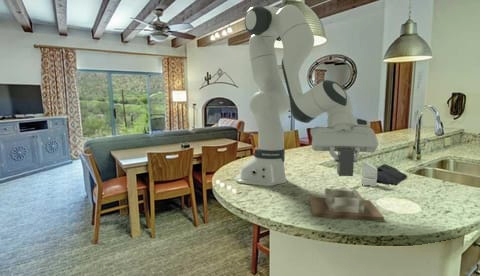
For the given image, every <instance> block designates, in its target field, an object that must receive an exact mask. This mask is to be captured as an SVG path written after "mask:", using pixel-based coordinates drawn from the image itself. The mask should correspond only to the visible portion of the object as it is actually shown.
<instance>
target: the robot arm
mask: <svg viewBox="0 0 480 276" xmlns="http://www.w3.org/2000/svg"><path fill="white" fill-rule="evenodd" d="M244 27H245V30H246V32H248V33H249V34H251V36H250V38H249V41H248V53H249V60H250V61H249V62H250V65H251V67H250V68H251V71H252V72H251V73H252V75H253V76H252V77H253V81H254V82H255V83H256V85H257V86H258V88H259V91H257V92H255V93H254V94H252V96H251V98H250V100H249V108H250V111H251V112H252V114H253V115H254V118H255V123H256V126H257V134H258V135H257V136H258V137H257V139H258V141H257V142H258V145H257V146H258V147H254V148H253V156H252V157H251V158H250V159H249V160H247V161H245V163H243V165H241V170H240V173H239V174H237V175H236V176H235V181H236V183H238V184H247V185H253V186H256V185H257V186H264V187H273V186H275V185H280V184H284V183H286V182H287V181H288V179H287V175H286V170H285V160H286V159H285V158H286V151H285V150H286V149H285V147H284V146H285V131H284V130H285V129H283V125H282V122H281V119H280V118H281V117H280V116H283V115H286V114H287V112H289V111H290V113H291V115H292V116H293V118H294V120H295V121H298V122H300V123H305V124H308V123H310V122H312V121H313V120H315V119H316V118H317V117H320V116H321V115H322V114H325V113H326V116H327V119H326V122H327V126H316V125H315V126H314V127H312V128H311V129H310V132H309V134H310V136H311V137H312V140H311V149H312V150H313V151H314V152H329V154H330V156H331V157H332V158H333V162H336V163H338V162H339V155H338V154H337V153H336V152H338V148H349V149H353V150H354V163H355V164H357V163H358V162H359V158H358V157H359V155H360V154H361V153H375V151H377V149H378V148H379V141H378V138H377V136H376V133H375V130H373V128H371V125H372V123H371V122H370V121H369V120H367V119H362V118H359V117H355V116H354V114H353V105H352V104H353V103H352V101H351V99H350V98H351V97H350V96H349V93H348V92H347V91H346V89H344V88H343V87H342V86H341V85H340V84H339V83H338V82H336V81H334V80H328V79H325V80H323V81H321V82H319V83H318V84H316V85H314V86H313V87H311V89H309V90H307V91H306V92H303V89H302V85H301V81H300V74H299V73H300V70H301V67H302V66H303V64H304V62H305V61H306V60H307V58H308V57H309V56H310V54H311V53H312V50H313V48H314V44H315V36H314V33H313V30H312V28H311V27H310V24H309V22H308V21H307V19H306V17H305V15H304V14H303V12H302V11H301V9H299V7H298V6H296V5H294V4H287V5H284V6H283V7H281V8H280V7H277V6H262V5H254V6H251V7H250V8H249V9H248V10H247V11H246V13H245V16H244ZM276 41H278V42H281V43H282V48H283V49H282V50H283V53H282V54H283V56H282V59H281V68H282V74H283V78H284V82H285V84H284V82H283V79H282V77H281V74H280V70H279V64H278V59H277V55H276V49H275V42H276ZM285 86H286V88H285Z"/></svg>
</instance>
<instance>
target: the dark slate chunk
mask: <svg viewBox="0 0 480 276" xmlns="http://www.w3.org/2000/svg"><path fill="white" fill-rule="evenodd" d="M376 168H377V169H378V170H377V181H379V182H378V183H381V182H382V184H385V183H386V184H385V185H389V184H391V185H390V186H397V185H399V184H400V183H401V182H403V181H404V180H405V179H406V178H407V177H408V175H407V174H405V172H401V171H400V170H398V168H395V167H393V166H390V165H388V164H386V163H383V164H382V165H380V166H378V167H376ZM374 174H375V173H374Z"/></svg>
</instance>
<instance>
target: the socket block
mask: <svg viewBox="0 0 480 276" xmlns="http://www.w3.org/2000/svg"><path fill="white" fill-rule="evenodd" d="M308 199H309V205H310V209H311V210H310V211H311V213H312V217H315V218H316V217H319V218H328V219H330V218H333V219H346V220H348V219H349V220H363V221H364V220H365V221H374V222H375V221H376V222H384V221H385V219H384V218H385V217H384V216H383V214H382V213H381V212H380V211H379V209H378V208H377V207H376V206H375V204H374V203H373V202H372V201H371V200H369V199H364V198H363V196H362V195H361V194H360V193H359V192H358V190H357V189H345V188H344V189H342V188H341V189H340V188H327V187H326V188H324V197H321V196H320V197H319V196H309V198H308Z"/></svg>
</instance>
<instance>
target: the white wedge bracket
mask: <svg viewBox="0 0 480 276" xmlns="http://www.w3.org/2000/svg"><path fill="white" fill-rule="evenodd" d="M361 167H362V169H361V181H360V185H361V184H364V185H371V186H370V187H372V186H376V187H377V185H376V184H377V183H378V182H377V170H378V169H377V168H378V167H375V166H373V165H372V164H370V163H369V162H367V161H366V160H364V159H363V160H362V165H361ZM374 173H375V174H374ZM364 185H363V186H364Z"/></svg>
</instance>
